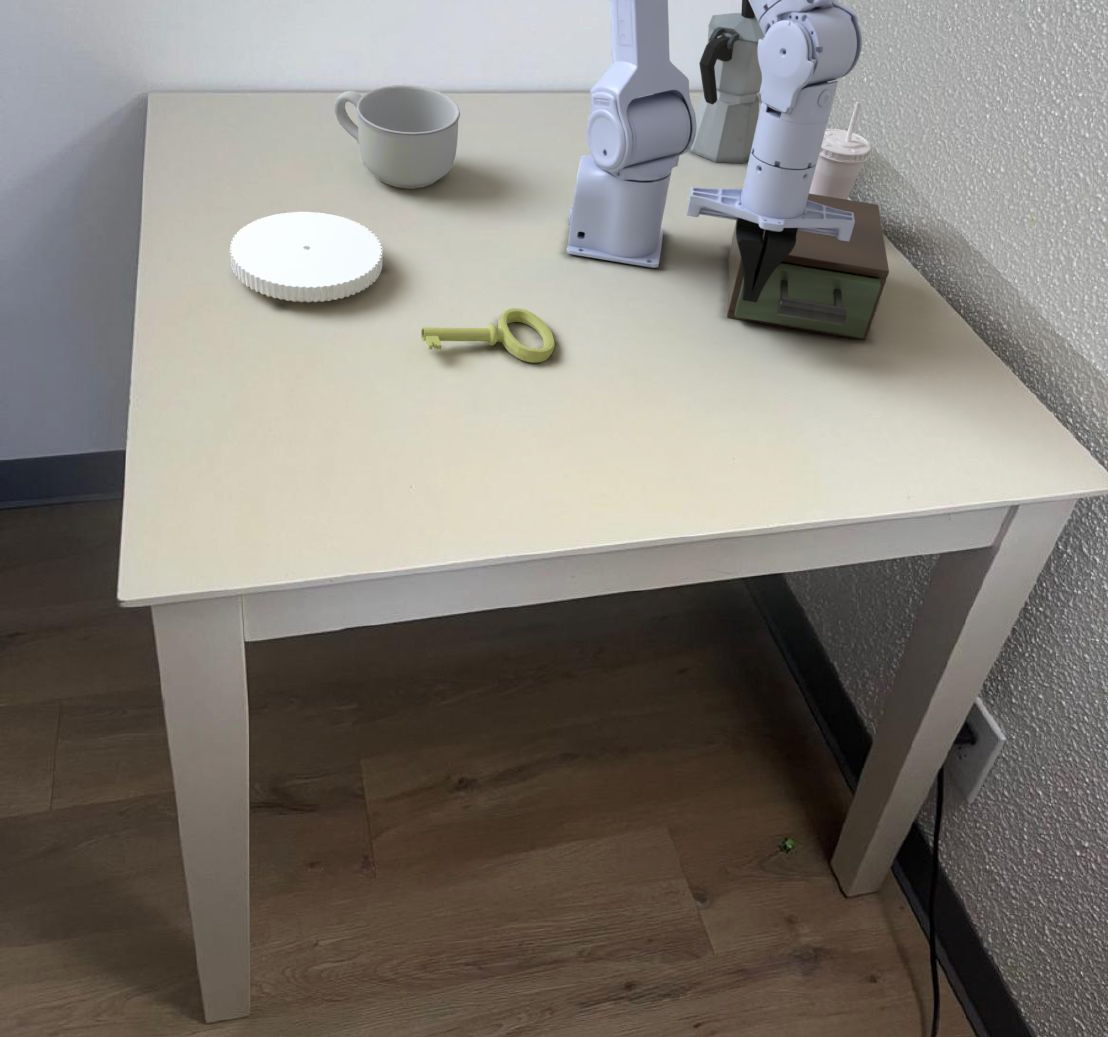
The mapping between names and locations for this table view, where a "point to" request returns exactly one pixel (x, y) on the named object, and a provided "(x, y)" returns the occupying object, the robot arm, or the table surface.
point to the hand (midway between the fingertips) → (750, 296)
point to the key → (498, 335)
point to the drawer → (814, 300)
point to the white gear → (306, 256)
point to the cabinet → (828, 253)
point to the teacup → (403, 133)
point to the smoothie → (840, 160)
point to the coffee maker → (729, 88)
